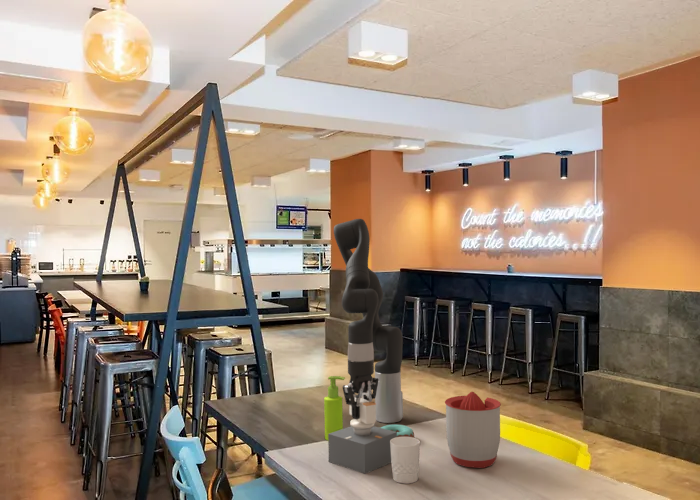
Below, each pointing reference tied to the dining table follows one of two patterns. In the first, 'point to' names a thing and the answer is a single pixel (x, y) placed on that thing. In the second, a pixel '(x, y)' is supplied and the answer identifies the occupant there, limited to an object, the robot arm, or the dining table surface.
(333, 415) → the soap dispenser
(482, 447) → the citrus juicer
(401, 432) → the donut
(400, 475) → the white cup
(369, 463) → the box
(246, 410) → the dining table surface
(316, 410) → the dining table surface
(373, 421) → the wing knob
